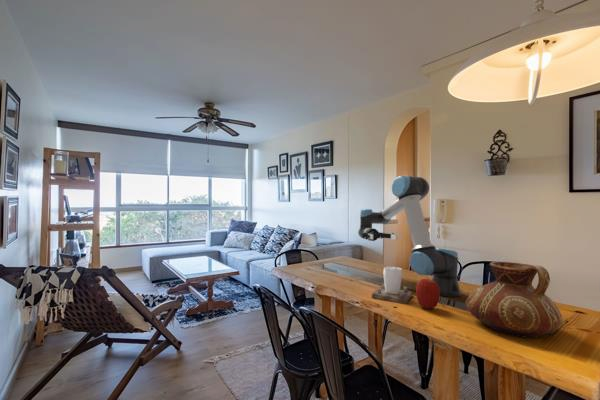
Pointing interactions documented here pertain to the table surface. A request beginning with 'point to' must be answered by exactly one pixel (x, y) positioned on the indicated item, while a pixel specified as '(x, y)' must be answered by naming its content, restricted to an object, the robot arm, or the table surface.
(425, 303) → the apple
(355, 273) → the table surface
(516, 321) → the jug
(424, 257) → the robot arm
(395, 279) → the cup
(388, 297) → the peg stand
